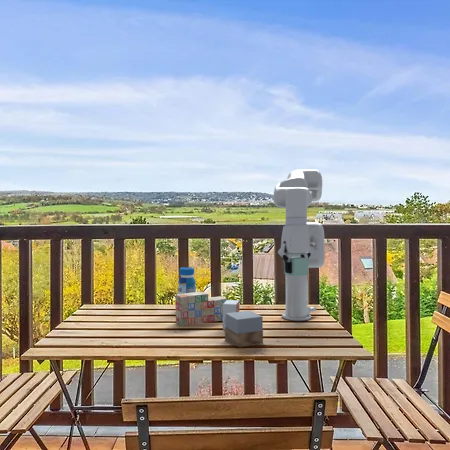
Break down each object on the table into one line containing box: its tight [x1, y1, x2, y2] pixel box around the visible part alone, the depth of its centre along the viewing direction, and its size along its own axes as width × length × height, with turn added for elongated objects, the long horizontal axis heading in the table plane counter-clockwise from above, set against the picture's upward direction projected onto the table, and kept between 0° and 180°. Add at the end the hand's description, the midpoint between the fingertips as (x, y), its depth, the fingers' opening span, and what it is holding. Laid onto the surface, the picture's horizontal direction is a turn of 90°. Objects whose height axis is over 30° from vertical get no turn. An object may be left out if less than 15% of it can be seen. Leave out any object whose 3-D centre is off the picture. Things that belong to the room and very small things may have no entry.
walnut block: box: [224, 327, 264, 348], centre depth 167 cm, size 10×10×5 cm
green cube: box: [283, 257, 309, 276], centre depth 165 cm, size 6×6×6 cm
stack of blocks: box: [175, 291, 228, 327], centre depth 195 cm, size 21×6×12 cm, turn 118°
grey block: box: [226, 310, 264, 334], centre depth 166 cm, size 10×10×5 cm
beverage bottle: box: [177, 266, 197, 294], centre depth 214 cm, size 8×8×20 cm
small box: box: [222, 299, 240, 331], centre depth 185 cm, size 8×6×10 cm
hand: (295, 271), depth 165 cm, fingers closed on green cube, 6 cm apart
